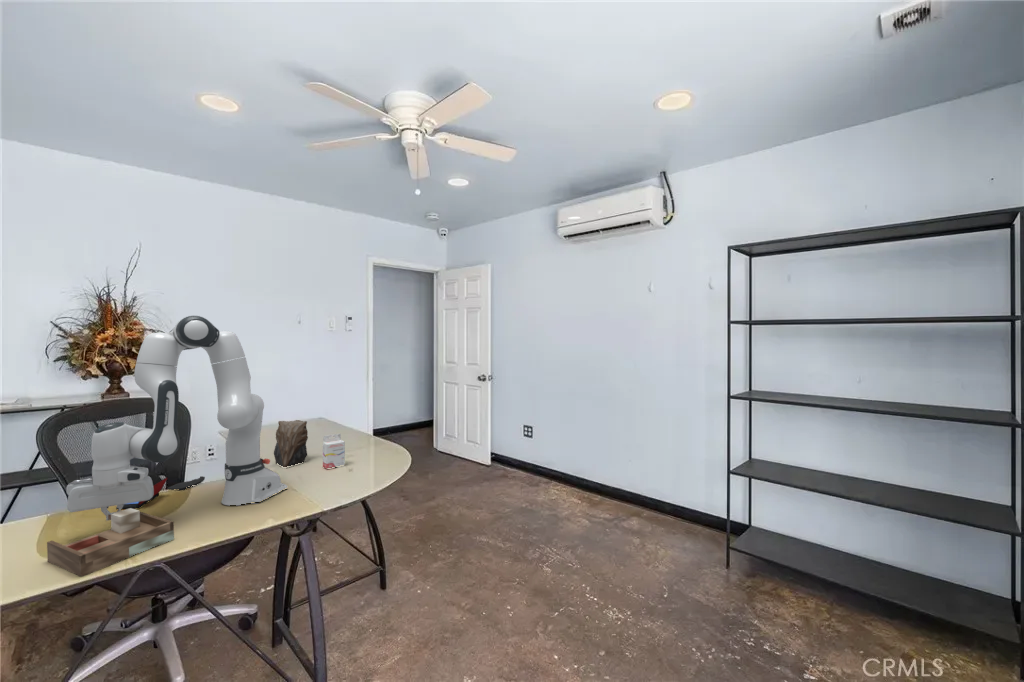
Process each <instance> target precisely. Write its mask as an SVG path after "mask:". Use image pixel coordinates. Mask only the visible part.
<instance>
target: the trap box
mask: <svg viewBox="0 0 1024 682" xmlns="http://www.w3.org/2000/svg"><path fill="white" fill-rule="evenodd" d="M174 523H175V522H174V521H172V520H168V519H165V518H163V517H159V516H156V515H154V514H153V515H152V514H149V513H145V512H143V511H140V527H137V528H135V529H132V530H129V531H126V532H123V533H118V532H115V531H112V530H111V528H110V529H108V530H104V531H101V532H99V533H96V534H93V535H90V536H87V537H85V538H80V539H79V540H76V541H73V542H70V543H67V544H62V543H59V542H57V541H54V540H50V541H46V549H47V550H46V551H47V552H46V553H47V562H48V563H50V564H52V565H55V566H56V567H58V568H61V569H63V570H65V571H68V572H70V573H72V574H74V575H77V576H79V577H81V578H82V577H84V576H87V575H89V574H91V573H95V572H96V571H97V572H98V571H100V570H101V569H102V570H103V569H104V568H107V567H108V566H112V565H114V564H116V562H117V563H119V562H121V560H122V561H124V560H126V559H125V558H127V559H129V558H132V557H134V556H136V555H135V554H137V553H139V554H141V553H140V552H142V553H144V552H146V551H145V550H147V551H149V550H151V549H150V548H152V547H154V548H156V547H155V546H157V545H159V546H161V545H160V544H162V545H164V544H166V543H165V542H167V543H169V542H171V540H172V541H174V540H175V529H174V528H175V527H174V526H175V525H174ZM173 539H174V540H173ZM168 541H169V542H168ZM163 543H164V544H163ZM157 547H158V546H157ZM148 549H149V550H148ZM152 549H153V548H152ZM143 551H144V552H143ZM133 555H134V556H133ZM137 555H138V554H137ZM131 556H132V557H131ZM128 557H129V558H128ZM123 559H124V560H123ZM118 561H119V562H118Z"/></svg>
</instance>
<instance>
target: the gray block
mask: <svg viewBox="0 0 1024 682" xmlns="http://www.w3.org/2000/svg"><path fill="white" fill-rule="evenodd" d="M140 512H141V511H140V510H139V509H132V508H129V509H125V510H121V511H119V512H117V511H116V513H113V512H112V513H113V514H111V520H110V523H111V525H110V527H111V528H110V529H111V530H112V531H115V532H118V533H123V532H126V531H129V530H132V529H135V528H137V527H140Z"/></svg>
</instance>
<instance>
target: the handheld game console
mask: <svg viewBox="0 0 1024 682" xmlns="http://www.w3.org/2000/svg"><path fill="white" fill-rule="evenodd" d="M167 480H168V477H165V478H163V479H161V480H160V481H158V482H156V483H153V488H154V495H153V497H152V498H151V499H150V500H151V501H153V500H154V499H156V498H157V497H160V491H161V490H162V489H163V487H164V485H165V484H166V482H167ZM150 500H146V501H140V502H134V503H127V504H124V506H123V508H122V509H125V510H126V509H129V508H132V509H135V508H139V509H140V507H141V506H142V507H143V506H145V505H146V504H148V503H149V502H151V501H150ZM148 501H149V502H148ZM144 504H145V505H144ZM142 507H141V508H142ZM115 509H116V510H117V509H119V508H117V506H116V508H115ZM135 510H136V509H135Z"/></svg>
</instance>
